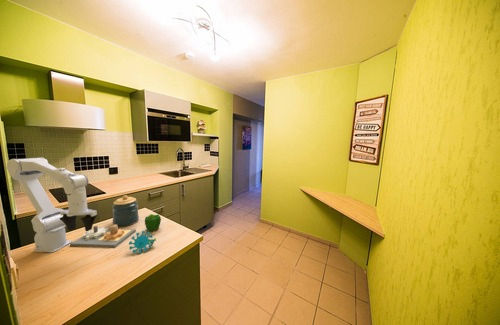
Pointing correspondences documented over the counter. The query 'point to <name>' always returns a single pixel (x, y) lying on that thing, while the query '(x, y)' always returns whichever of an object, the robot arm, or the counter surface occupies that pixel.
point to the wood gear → (113, 233)
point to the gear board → (101, 238)
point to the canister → (125, 211)
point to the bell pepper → (152, 222)
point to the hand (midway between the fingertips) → (80, 229)
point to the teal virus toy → (141, 242)
